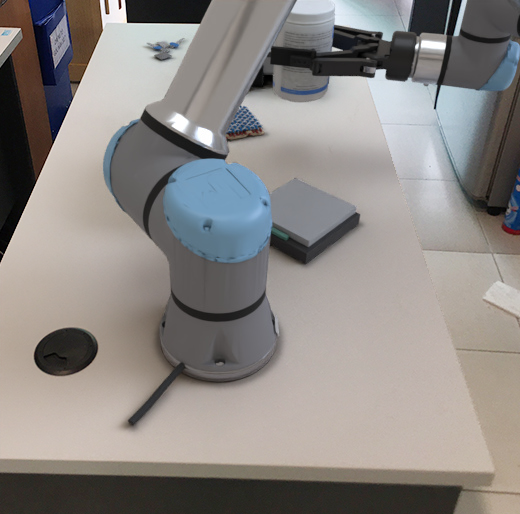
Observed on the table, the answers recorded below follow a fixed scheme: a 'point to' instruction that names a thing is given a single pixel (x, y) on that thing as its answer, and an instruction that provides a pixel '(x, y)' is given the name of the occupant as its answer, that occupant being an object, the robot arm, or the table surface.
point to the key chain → (164, 45)
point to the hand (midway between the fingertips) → (277, 44)
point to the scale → (308, 219)
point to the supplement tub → (304, 37)
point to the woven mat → (244, 125)
